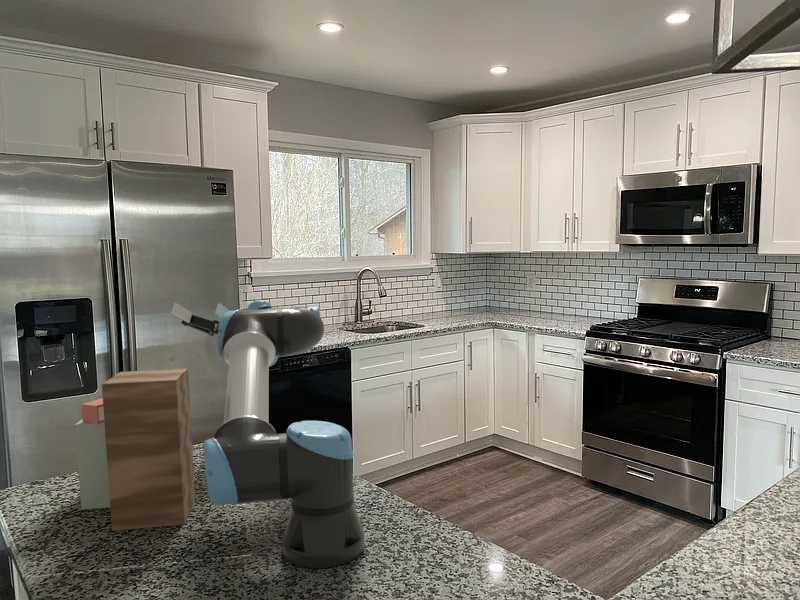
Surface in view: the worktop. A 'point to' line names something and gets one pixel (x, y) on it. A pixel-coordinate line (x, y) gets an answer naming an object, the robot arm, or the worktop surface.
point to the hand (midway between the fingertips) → (195, 308)
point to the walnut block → (149, 448)
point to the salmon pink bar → (93, 412)
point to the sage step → (92, 465)
